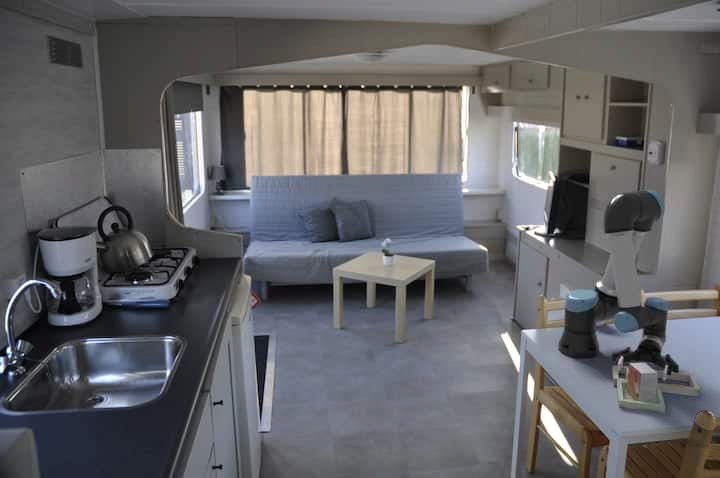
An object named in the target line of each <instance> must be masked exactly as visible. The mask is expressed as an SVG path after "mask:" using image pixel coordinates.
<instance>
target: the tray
mask: <svg viewBox="0 0 720 478" xmlns="http://www.w3.org/2000/svg"><path fill="white" fill-rule="evenodd" d="M616 392H617V393H616V394H617V399H618V408H620V409H624V410H625V409H626V410H633V411H641V412H649V413H653V414H654V413H655V414H663V415H665V410H666V404H665V401H664V396H663V392H661V388H660V385H657V388H656V397H655V403H648V402H641V401H636V400H635V399H634V398H633V397H632V396H631V395H629V394H628V393H627V381H621V380H617V386H616Z"/></svg>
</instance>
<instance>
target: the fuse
mask: <svg viewBox="0 0 720 478" xmlns="http://www.w3.org/2000/svg"><path fill="white" fill-rule="evenodd" d="M628 371H629V366H627V367H626V371H625V374H624V376H625V377H624V378H625V379H628Z"/></svg>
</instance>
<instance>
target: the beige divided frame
mask: <svg viewBox="0 0 720 478" xmlns="http://www.w3.org/2000/svg"><path fill="white" fill-rule="evenodd" d="M617 366H618V365H616V364H612V367H611V369H612V370H611V373H612V382H613V383H612V384H613V386H614V387H617V380H621V381H628V379H626V378H625V379H624V378H619V374H623V375H625V371H626V367H628V366H625V365H622V367H621V369H620V372H619V371H617ZM654 370H655V371H656V372H657V373H658V378H657V385H660V388H661V392H662V393H668V394H675V395H681V396H682V395H683V396H691V397H696V398H697V397H698V398H699V397H700V394H701V388H700V386H699V383H698V381H697V378H696V376H695V374H694V373H685V372H679V371H678V373H674V372H672V373H671V375H667V377H666V380H670V381H679V382H680V381H681V382H689V385H690V386H686V385H682V384H674V383H671V384H668V383H659V381H658V379H663V373H664V370H663V369H662V370H661V369H654Z"/></svg>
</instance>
